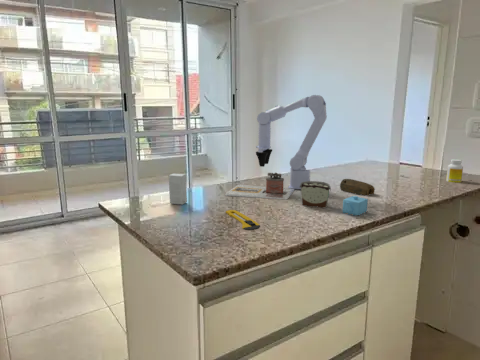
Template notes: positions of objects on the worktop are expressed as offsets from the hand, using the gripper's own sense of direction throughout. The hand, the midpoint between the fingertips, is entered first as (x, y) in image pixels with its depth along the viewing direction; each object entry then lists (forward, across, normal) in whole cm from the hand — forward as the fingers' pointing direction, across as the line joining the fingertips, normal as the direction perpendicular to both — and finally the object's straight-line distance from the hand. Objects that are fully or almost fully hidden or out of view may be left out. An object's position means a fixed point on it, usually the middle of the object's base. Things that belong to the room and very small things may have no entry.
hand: (264, 165), depth 181 cm
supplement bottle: (+11, -31, +90) cm, 96 cm away
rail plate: (+10, +15, +2) cm, 18 cm away
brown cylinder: (+11, +4, +44) cm, 46 cm away
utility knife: (+11, +55, +6) cm, 57 cm away
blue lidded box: (+11, +37, +44) cm, 58 cm away
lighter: (+11, +15, +9) cm, 20 cm away
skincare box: (+11, +41, -26) cm, 50 cm away
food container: (+11, +29, +29) cm, 42 cm away
